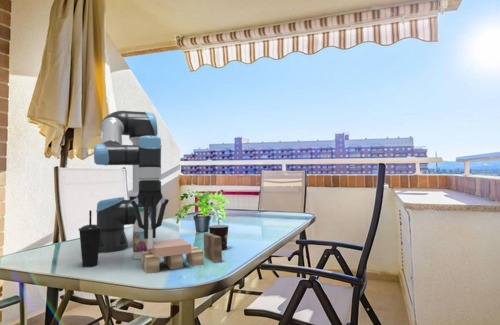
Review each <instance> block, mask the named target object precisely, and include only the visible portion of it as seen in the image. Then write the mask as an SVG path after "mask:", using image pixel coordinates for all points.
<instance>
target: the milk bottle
mask: <svg viewBox="0 0 500 325" xmlns="http://www.w3.org/2000/svg"><path fill="white" fill-rule="evenodd" d="M138 208H139V212H140V216H141V220H142V224H143V225H144V207H138ZM132 227H133V228H132V258H133V259H134V260H141V252H143V251H149V250H148V248H147V239H145V238H144V229H142V228H140V227H138V223H137V219H136V222H135V224H133V226H132ZM148 229H151V220H150V218H149V215H148Z"/></svg>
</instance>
